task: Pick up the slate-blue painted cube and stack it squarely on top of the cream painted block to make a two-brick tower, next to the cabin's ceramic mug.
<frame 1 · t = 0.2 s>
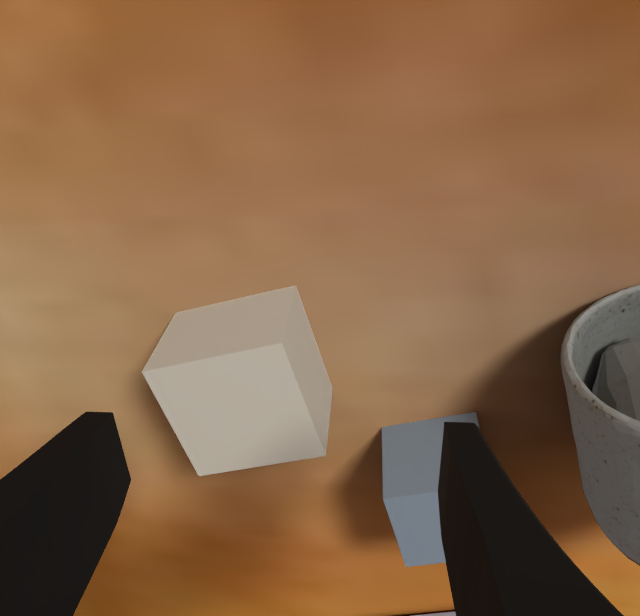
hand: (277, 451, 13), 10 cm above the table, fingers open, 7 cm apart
cream block: (256, 349, 23), on the table
blue cube: (436, 452, 25), on the table
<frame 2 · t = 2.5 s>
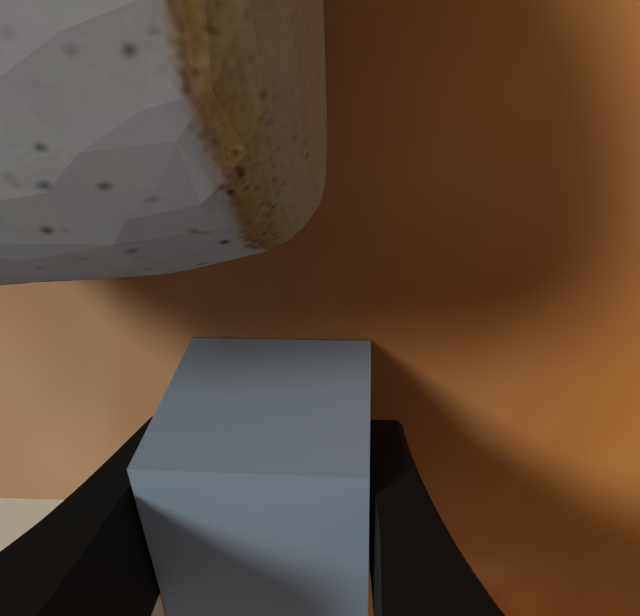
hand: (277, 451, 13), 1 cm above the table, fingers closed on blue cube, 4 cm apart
cream block: (70, 553, 18), on the table
blue cube: (286, 409, 14), on the table, touching gripper
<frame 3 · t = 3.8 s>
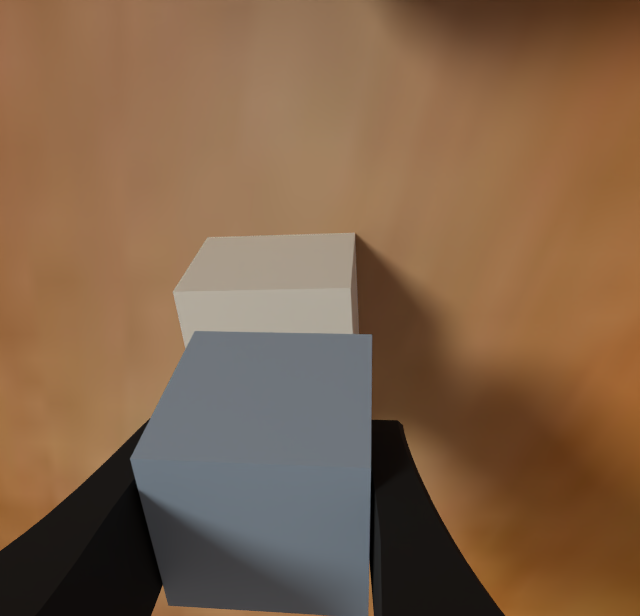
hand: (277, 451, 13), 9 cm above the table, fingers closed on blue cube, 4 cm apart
cream block: (287, 298, 21), on the table
blue cube: (287, 402, 14), point 7 cm above the table, touching gripper
when the fingers open (7 cm above the table, at t = 5.1 s): blue cube drops 1 cm, resting on cream block.
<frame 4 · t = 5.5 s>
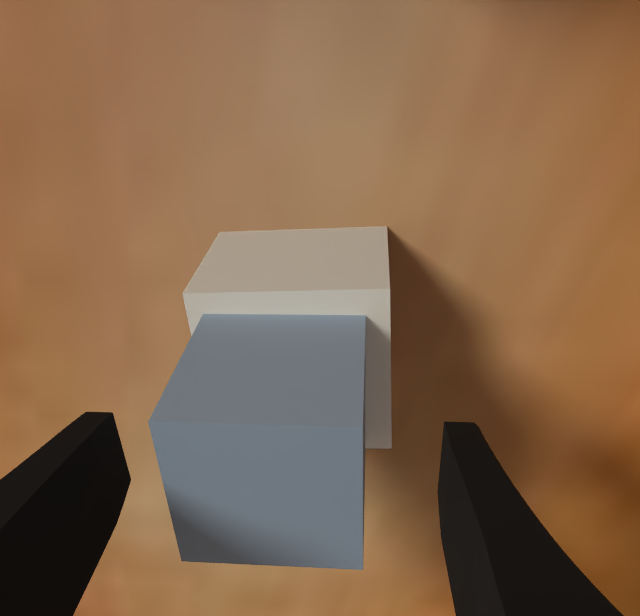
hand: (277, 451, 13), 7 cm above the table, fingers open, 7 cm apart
cream block: (309, 300, 18), on the table, touching blue cube
blue cube: (288, 380, 15), point 4 cm above the table, touching cream block
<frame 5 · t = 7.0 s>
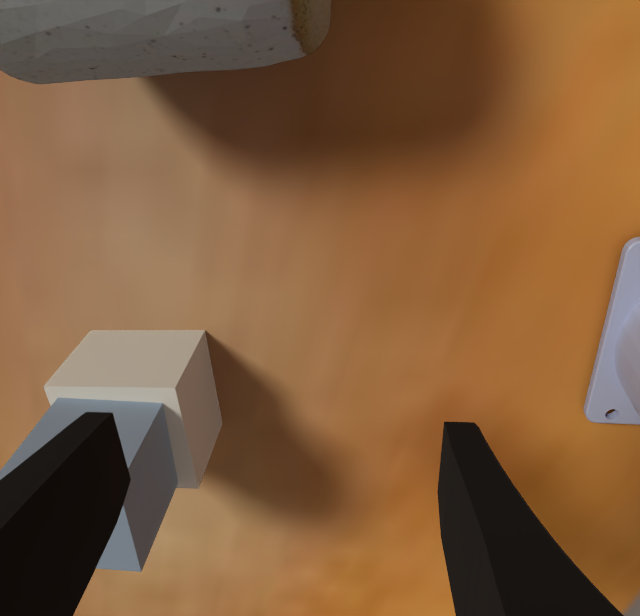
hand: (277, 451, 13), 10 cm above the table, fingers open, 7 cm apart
cream block: (159, 376, 26), on the table, touching blue cube
blue cube: (120, 441, 22), point 4 cm above the table, touching cream block
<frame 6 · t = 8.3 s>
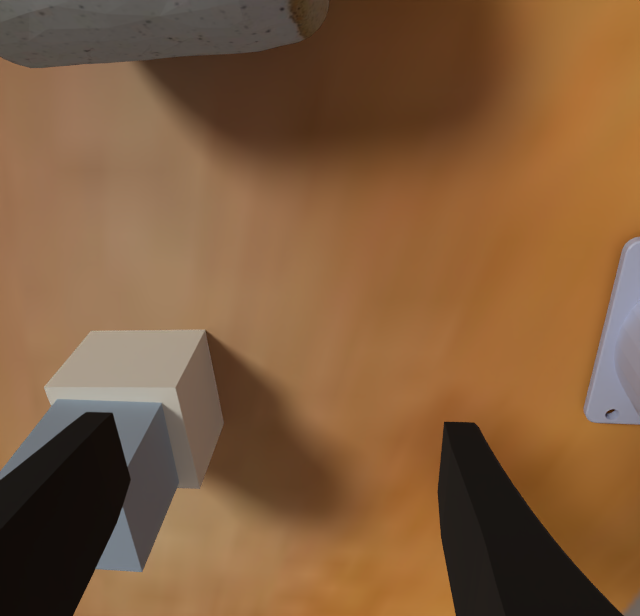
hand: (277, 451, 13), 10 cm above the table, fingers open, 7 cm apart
cream block: (160, 377, 25), on the table, touching blue cube
blue cube: (120, 442, 22), point 4 cm above the table, touching cream block
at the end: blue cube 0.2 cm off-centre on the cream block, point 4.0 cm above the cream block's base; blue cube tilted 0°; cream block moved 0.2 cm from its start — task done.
